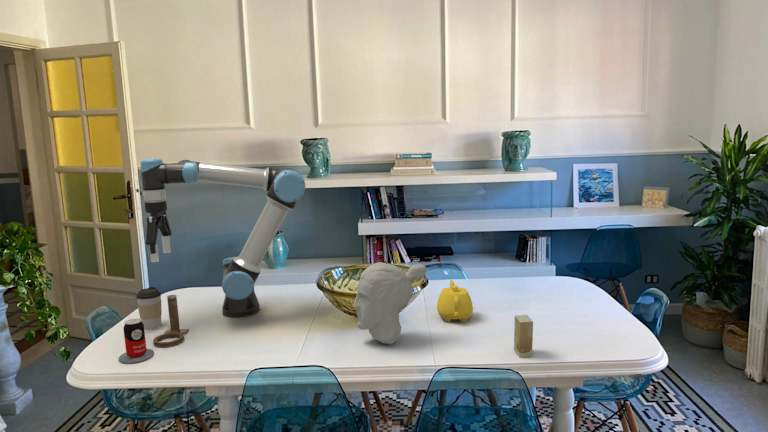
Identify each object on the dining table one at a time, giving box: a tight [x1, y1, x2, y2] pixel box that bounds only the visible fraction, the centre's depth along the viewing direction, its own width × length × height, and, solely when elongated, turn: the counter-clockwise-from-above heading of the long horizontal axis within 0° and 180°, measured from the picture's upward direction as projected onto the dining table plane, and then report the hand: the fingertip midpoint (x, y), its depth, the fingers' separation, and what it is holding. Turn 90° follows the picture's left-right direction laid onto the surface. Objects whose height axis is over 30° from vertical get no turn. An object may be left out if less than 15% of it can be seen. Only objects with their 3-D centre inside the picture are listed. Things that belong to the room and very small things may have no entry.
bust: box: [352, 261, 427, 345], centre depth 196 cm, size 15×26×28 cm, turn 99°
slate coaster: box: [118, 348, 155, 365], centre depth 190 cm, size 11×11×1 cm
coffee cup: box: [135, 286, 163, 331], centre depth 217 cm, size 9×9×15 cm
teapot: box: [436, 279, 474, 323], centre depth 218 cm, size 14×20×13 cm
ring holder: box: [152, 294, 190, 349], centre depth 204 cm, size 10×16×15 cm, turn 3°
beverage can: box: [122, 318, 148, 358], centre depth 189 cm, size 6×6×12 cm
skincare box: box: [513, 314, 534, 358], centre depth 182 cm, size 6×4×12 cm
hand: (161, 257), depth 209 cm, fingers open, 13 cm apart
